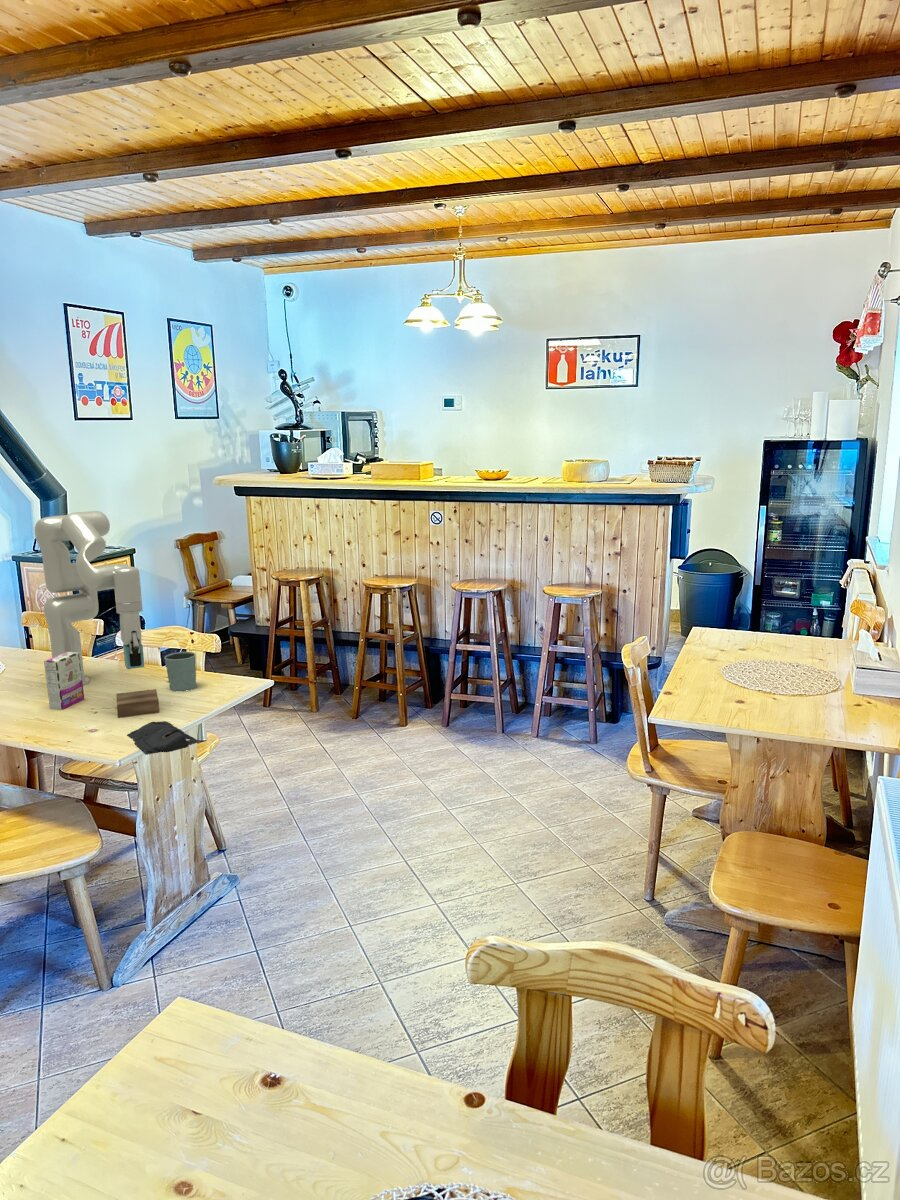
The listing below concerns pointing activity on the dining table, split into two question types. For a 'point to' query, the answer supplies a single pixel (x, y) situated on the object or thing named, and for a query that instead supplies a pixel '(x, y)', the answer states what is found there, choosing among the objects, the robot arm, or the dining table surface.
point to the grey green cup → (181, 670)
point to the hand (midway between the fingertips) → (134, 663)
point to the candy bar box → (64, 680)
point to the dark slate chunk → (160, 738)
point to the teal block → (127, 657)
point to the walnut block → (137, 703)
